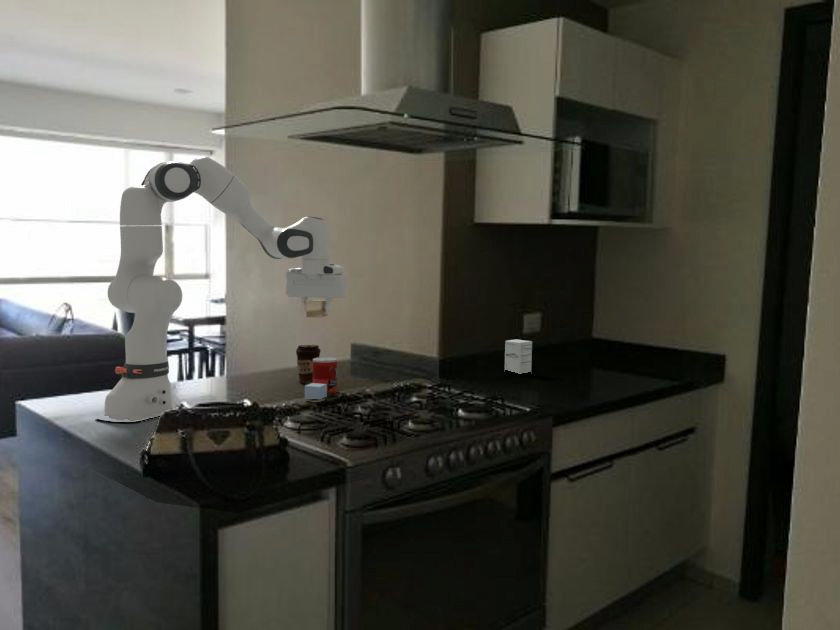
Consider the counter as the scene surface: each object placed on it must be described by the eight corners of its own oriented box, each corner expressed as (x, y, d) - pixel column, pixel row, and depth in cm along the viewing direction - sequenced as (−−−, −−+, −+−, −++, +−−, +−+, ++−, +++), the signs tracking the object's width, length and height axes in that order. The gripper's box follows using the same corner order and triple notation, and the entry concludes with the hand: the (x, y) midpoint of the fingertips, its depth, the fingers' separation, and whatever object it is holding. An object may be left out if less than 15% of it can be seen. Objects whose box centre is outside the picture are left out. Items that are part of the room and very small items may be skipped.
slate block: (319, 403, 228) (319, 386, 228) (304, 402, 230) (304, 385, 229) (326, 399, 233) (326, 384, 232) (312, 398, 234) (311, 383, 234)
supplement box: (503, 374, 280) (504, 340, 279) (516, 371, 285) (517, 338, 284) (519, 376, 275) (519, 342, 274) (532, 374, 280) (532, 340, 279)
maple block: (320, 317, 237) (320, 301, 236) (306, 317, 238) (305, 301, 238) (327, 315, 242) (327, 300, 241) (313, 315, 243) (313, 300, 243)
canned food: (333, 395, 240) (332, 361, 239) (309, 394, 242) (309, 360, 241) (340, 390, 247) (340, 357, 246) (317, 389, 249) (317, 356, 248)
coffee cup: (313, 385, 256) (312, 347, 255) (291, 383, 259) (291, 346, 258) (324, 381, 264) (324, 344, 263) (303, 379, 267) (303, 343, 266)
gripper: (281, 268, 239) (283, 311, 240) (340, 268, 232) (341, 313, 234) (290, 267, 244) (292, 309, 246) (348, 267, 238) (349, 311, 240)
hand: (317, 311), depth 240 cm, fingers closed on maple block, 5 cm apart
